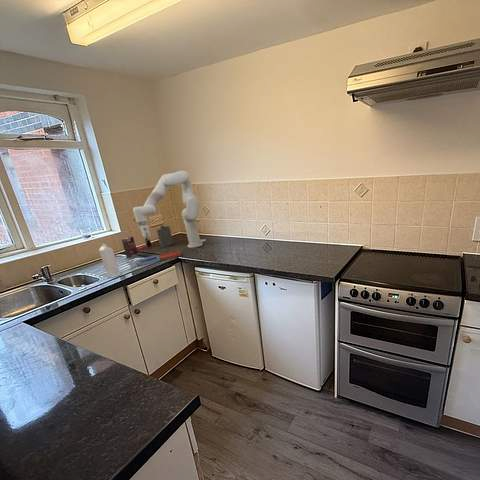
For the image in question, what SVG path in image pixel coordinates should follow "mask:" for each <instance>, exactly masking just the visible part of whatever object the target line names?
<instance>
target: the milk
mask: <svg viewBox="0 0 480 480" xmlns="http://www.w3.org/2000/svg"><path fill="white" fill-rule="evenodd" d="M101 245H102V246H100V248H99V249H98V252H99V255H100V257H101V261H102V263H103V267H104V271H105V273H106V275H107V278H111V279H112V278H115V277H119V276H121V272H120V268H119V266H118V261H117V258H116V256H115V253H114V249H113V247H109V246H107V244H105V243H101Z"/></svg>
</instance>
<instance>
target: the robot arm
mask: <svg viewBox="0 0 480 480" xmlns="http://www.w3.org/2000/svg"><path fill="white" fill-rule="evenodd" d="M176 185H180V186H181V190H182V191H181V193H182V194H181V195H182V203H183V205H184V206H185V208H184V209H182V211H181V217H182V220H183V223H184V228H185V232H186V236H187V241H188V244H187V248H190V249H193V248H199V247H202V246H203V245H204V243H205V242H207V239H205V238H204V239H201V238H200V232H199V230H198V229H199V228H198V223H197V219H198V218H199V199H198V197H197V196H196V195H195V193H194V184H193V181H192V180H191V178H190V173H189V172H188V171H187V170H177V171H176V172H171V173H164V174H162V175H161V176H160V178H159V180H158V182H157V183H156V185H155V186H154V188H153V190H152V191H151V193H150V194H149V196H148V197H147V199H146V201H145V202H144V204H143V206H142V205H141V206H135V207H133V208H132V212H133V215H134V218H135V221H136V224H137V227H139V229H140V232H141V235H142V238H143V239H144V241H145V245H147V247H146V248H152V247H153V246H152V245H151V244H152V242H151V239H150V238H152V234H151V231H150V228H149V226H148V225H149V221H148V219H147V216H153V215H155V214H156V212H157V208H156V205H157V204H158V202H160V201H161V200H162V199H164V197H165V196H166V194H167V192H168V190H169V189H170V187H171V186H176Z"/></svg>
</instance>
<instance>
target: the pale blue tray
mask: <svg viewBox="0 0 480 480" xmlns="http://www.w3.org/2000/svg"><path fill="white" fill-rule="evenodd" d="M153 257H157V259H154V260H150V261H146V262H142V263H140V261H142V260H146V259H149V258H153ZM135 262H136V264H137V265H138V266H139V267H141V266H145V265H149V264H153V263H158V262H161V260H160V258H159V257H158V254H156V255H155V254H154V255H152V256H148V257H144V258H139V259H136V260H135Z"/></svg>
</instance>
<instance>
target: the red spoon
mask: <svg viewBox="0 0 480 480" xmlns="http://www.w3.org/2000/svg"><path fill="white" fill-rule="evenodd" d="M151 245H152V247H153V246H154V243H151ZM146 248H148V247H147V245H146V244H145V245H143V246H138V247H136V249H137V251H140V250H143V249H146Z"/></svg>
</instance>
